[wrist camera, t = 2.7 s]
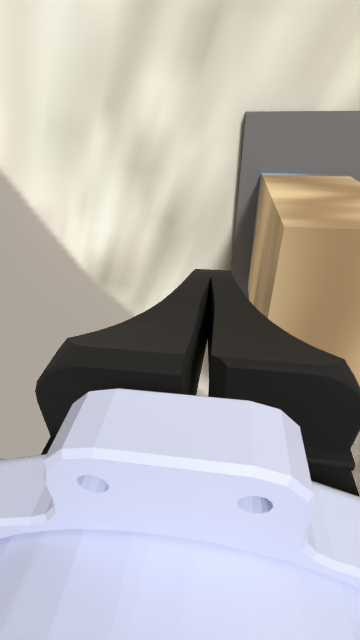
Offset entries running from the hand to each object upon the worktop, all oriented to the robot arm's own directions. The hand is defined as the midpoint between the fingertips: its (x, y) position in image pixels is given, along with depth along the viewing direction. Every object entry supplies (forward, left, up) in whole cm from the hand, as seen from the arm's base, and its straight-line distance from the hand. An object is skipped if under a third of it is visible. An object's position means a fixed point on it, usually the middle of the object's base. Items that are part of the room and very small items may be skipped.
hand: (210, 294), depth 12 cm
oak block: (-4, 0, -7) cm, 8 cm away
